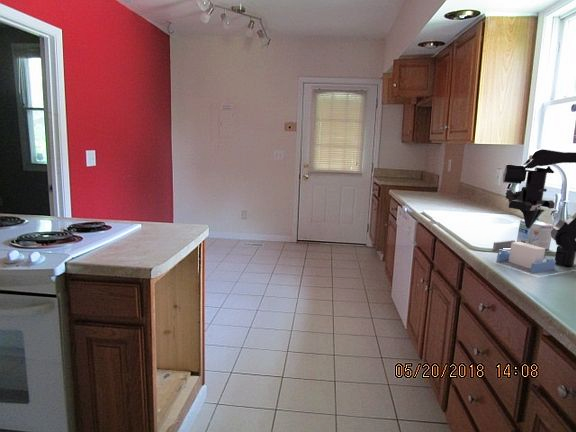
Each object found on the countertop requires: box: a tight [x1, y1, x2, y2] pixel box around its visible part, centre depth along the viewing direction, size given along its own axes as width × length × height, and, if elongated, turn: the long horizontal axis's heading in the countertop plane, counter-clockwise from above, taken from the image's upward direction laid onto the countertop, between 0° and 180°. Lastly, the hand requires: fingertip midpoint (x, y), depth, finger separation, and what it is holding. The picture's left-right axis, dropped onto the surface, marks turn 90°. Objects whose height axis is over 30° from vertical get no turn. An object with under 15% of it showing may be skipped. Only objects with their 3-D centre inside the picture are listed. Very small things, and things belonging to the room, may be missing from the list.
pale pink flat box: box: [508, 241, 546, 269], centre depth 135 cm, size 4×9×7 cm, turn 26°
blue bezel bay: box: [496, 250, 557, 274], centre depth 136 cm, size 12×13×4 cm
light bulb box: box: [516, 219, 555, 250], centre depth 162 cm, size 11×7×11 cm, turn 15°
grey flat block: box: [492, 239, 547, 258], centre depth 151 cm, size 12×13×3 cm
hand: (527, 227), depth 142 cm, fingers closed
